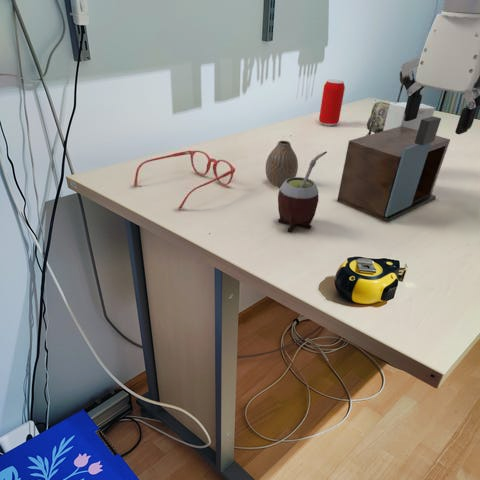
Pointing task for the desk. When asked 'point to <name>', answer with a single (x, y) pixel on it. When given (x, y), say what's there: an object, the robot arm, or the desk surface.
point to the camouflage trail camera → (381, 113)
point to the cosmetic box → (398, 114)
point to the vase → (281, 164)
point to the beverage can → (331, 102)
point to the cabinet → (386, 171)
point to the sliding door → (412, 166)
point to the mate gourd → (298, 200)
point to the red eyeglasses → (195, 169)
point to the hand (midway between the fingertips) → (434, 126)
